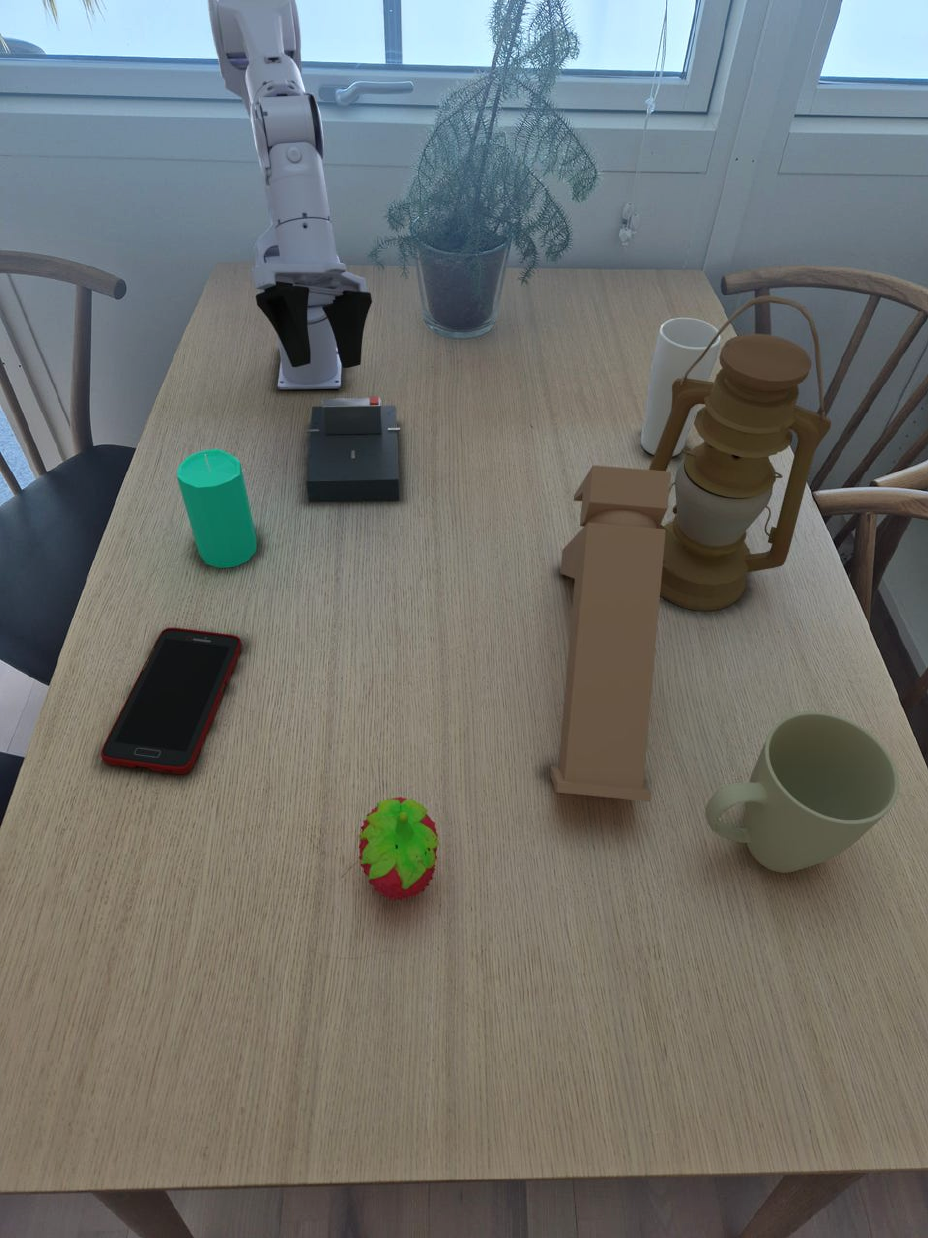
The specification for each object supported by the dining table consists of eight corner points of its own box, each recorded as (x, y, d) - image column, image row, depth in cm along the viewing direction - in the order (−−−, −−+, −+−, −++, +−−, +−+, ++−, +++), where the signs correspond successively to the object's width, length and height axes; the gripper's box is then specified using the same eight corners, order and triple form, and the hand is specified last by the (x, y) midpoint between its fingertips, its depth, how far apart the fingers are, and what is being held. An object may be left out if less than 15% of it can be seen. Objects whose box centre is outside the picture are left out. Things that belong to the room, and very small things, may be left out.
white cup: (693, 464, 98) (728, 350, 87) (636, 462, 98) (664, 347, 87) (684, 430, 103) (716, 317, 91) (630, 428, 103) (655, 315, 91)
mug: (740, 768, 70) (786, 683, 61) (852, 838, 66) (918, 758, 57) (676, 861, 65) (716, 782, 56) (795, 943, 61) (858, 872, 52)
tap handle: (325, 434, 95) (321, 404, 92) (325, 426, 96) (322, 396, 93) (381, 433, 95) (380, 403, 92) (381, 425, 96) (380, 395, 93)
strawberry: (437, 831, 66) (439, 764, 58) (438, 923, 61) (439, 863, 53) (364, 831, 65) (356, 764, 58) (359, 924, 60) (349, 864, 53)
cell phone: (99, 764, 68) (96, 758, 68) (165, 632, 78) (163, 625, 77) (190, 777, 68) (187, 771, 67) (245, 642, 78) (243, 635, 77)
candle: (226, 576, 83) (201, 483, 74) (186, 550, 86) (158, 457, 77) (269, 545, 87) (251, 451, 78) (230, 520, 89) (208, 427, 80)
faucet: (607, 754, 85) (629, 512, 85) (650, 801, 62) (680, 470, 62) (538, 747, 85) (560, 506, 85) (556, 792, 62) (586, 463, 62)
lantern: (764, 549, 89) (878, 278, 66) (773, 621, 82) (904, 345, 59) (623, 531, 90) (689, 259, 67) (621, 600, 83) (693, 322, 61)
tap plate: (311, 425, 101) (309, 403, 98) (399, 424, 102) (398, 402, 99) (305, 502, 91) (302, 479, 89) (402, 500, 92) (401, 477, 90)
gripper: (278, 203, 75) (304, 356, 78) (379, 226, 87) (400, 359, 89) (227, 225, 79) (254, 370, 82) (331, 245, 91) (352, 371, 93)
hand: (327, 365), depth 86 cm, fingers open, 7 cm apart
